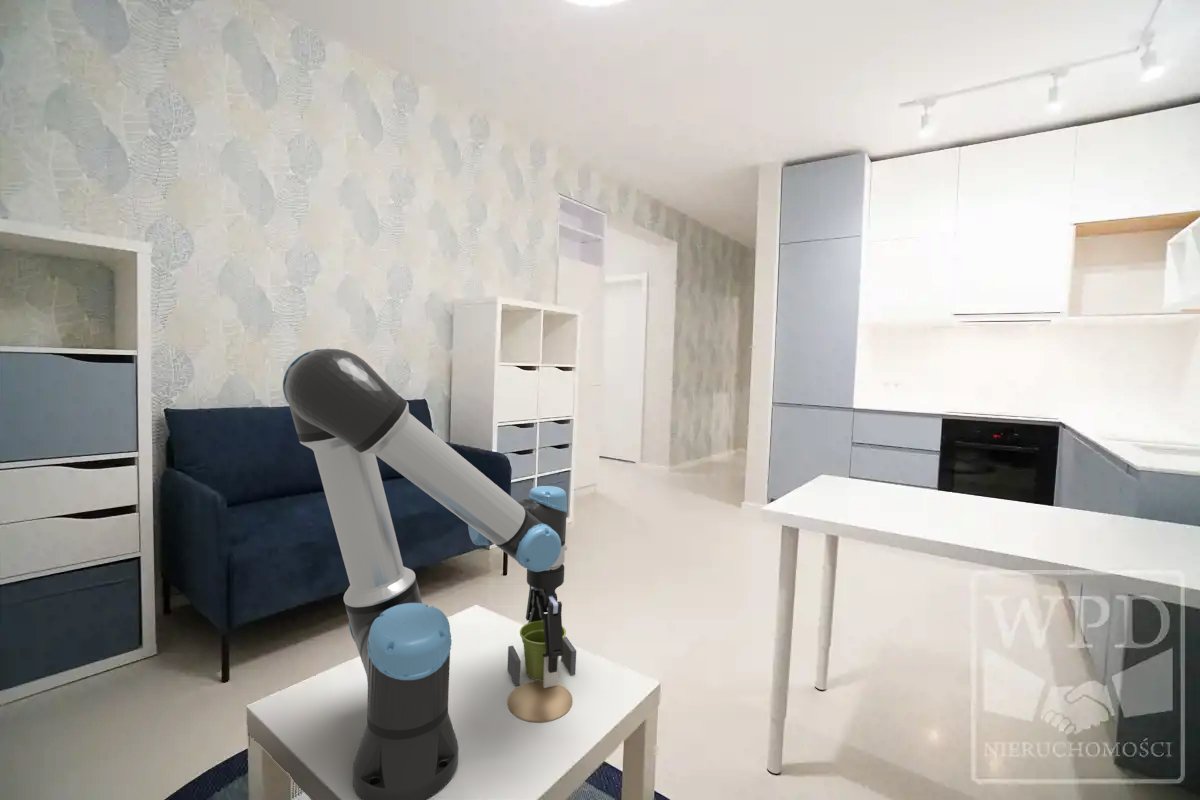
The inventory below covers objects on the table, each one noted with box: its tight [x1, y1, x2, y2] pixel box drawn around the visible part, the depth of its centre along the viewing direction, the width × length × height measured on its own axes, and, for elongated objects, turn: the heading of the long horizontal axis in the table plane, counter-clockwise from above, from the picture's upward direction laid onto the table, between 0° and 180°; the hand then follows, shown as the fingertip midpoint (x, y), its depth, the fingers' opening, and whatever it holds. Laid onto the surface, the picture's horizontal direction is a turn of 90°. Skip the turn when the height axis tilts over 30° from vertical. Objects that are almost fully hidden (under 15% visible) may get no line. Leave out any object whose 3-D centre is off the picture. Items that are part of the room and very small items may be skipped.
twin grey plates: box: [506, 636, 577, 687], centre depth 109 cm, size 13×6×5 cm, turn 113°
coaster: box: [507, 680, 573, 723], centre depth 99 cm, size 12×12×1 cm
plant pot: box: [519, 620, 567, 681], centre depth 109 cm, size 9×9×9 cm
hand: (542, 671), depth 108 cm, fingers open, 10 cm apart
